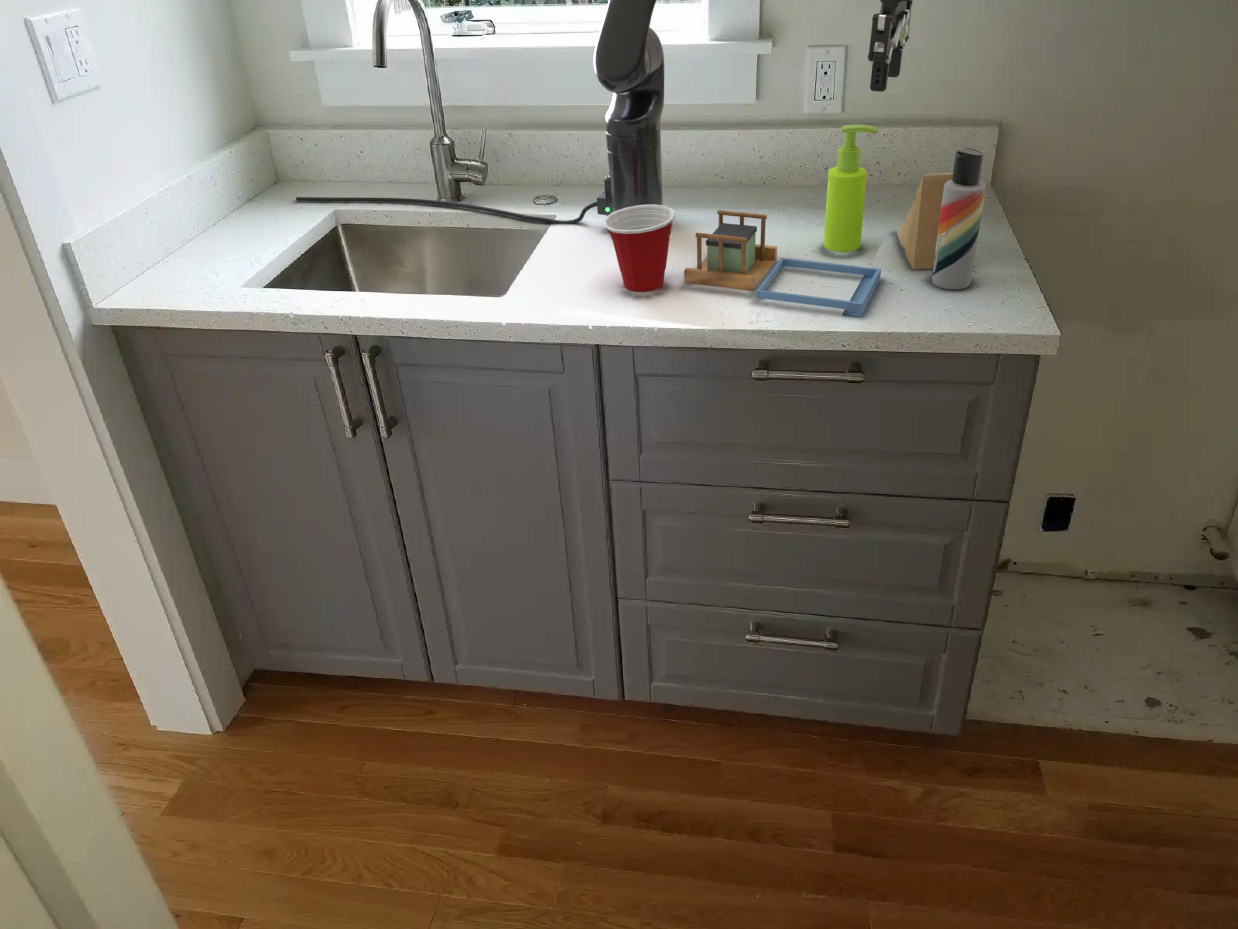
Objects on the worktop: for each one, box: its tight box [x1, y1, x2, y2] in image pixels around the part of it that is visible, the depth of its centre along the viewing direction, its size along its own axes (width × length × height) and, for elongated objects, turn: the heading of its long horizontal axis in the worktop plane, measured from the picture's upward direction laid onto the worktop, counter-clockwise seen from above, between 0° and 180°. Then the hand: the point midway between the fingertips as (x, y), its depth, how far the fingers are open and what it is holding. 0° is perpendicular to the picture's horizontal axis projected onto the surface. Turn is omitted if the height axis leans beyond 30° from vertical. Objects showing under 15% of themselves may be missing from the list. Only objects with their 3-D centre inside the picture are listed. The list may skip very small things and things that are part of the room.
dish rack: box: [683, 209, 778, 292], centre depth 152 cm, size 11×13×9 cm
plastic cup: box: [602, 204, 676, 293], centre depth 148 cm, size 11×11×12 cm
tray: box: [755, 257, 882, 318], centre depth 147 cm, size 16×13×2 cm
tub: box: [705, 222, 758, 274], centre depth 152 cm, size 6×8×6 cm
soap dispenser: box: [823, 124, 879, 253], centre depth 154 cm, size 6×7×20 cm
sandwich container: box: [896, 172, 982, 270], centre depth 154 cm, size 9×15×15 cm, turn 176°
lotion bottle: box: [931, 147, 987, 291], centre depth 142 cm, size 6×6×20 cm
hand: (884, 83), depth 142 cm, fingers open, 8 cm apart
